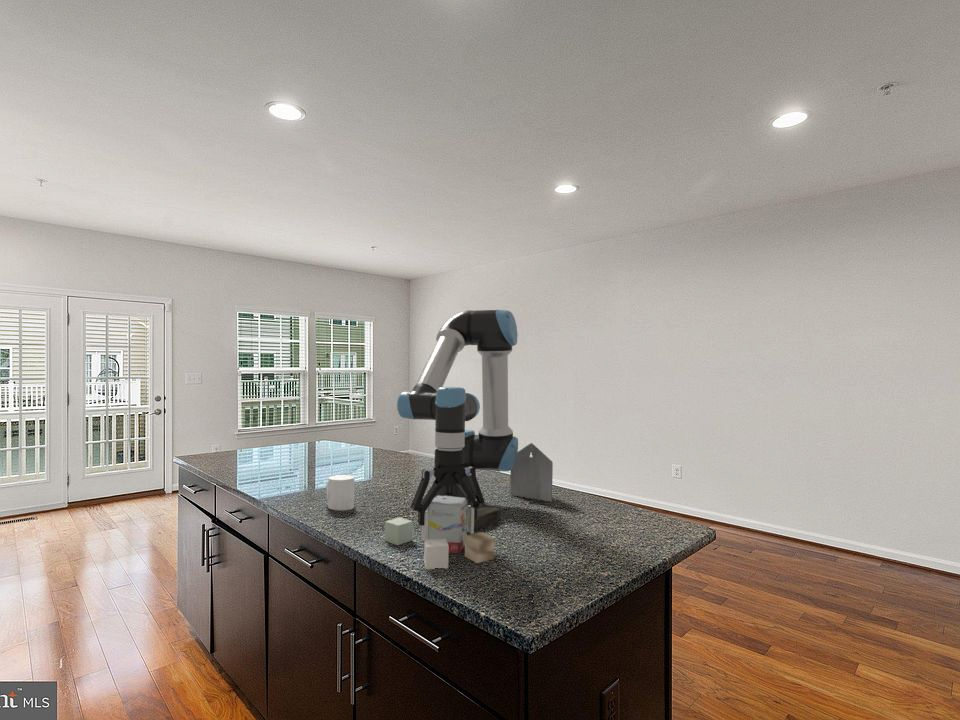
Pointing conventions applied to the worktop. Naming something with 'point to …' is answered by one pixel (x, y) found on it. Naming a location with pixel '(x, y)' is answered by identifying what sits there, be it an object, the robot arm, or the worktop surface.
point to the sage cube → (398, 531)
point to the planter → (532, 474)
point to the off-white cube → (436, 553)
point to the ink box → (448, 521)
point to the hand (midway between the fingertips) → (447, 535)
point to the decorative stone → (486, 517)
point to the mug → (340, 492)
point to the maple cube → (479, 547)
